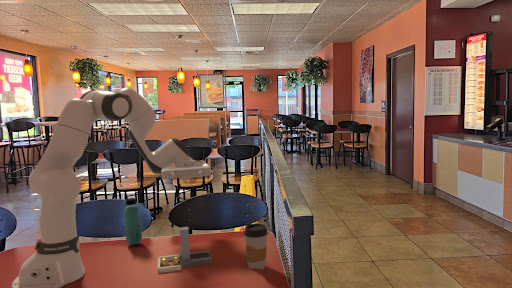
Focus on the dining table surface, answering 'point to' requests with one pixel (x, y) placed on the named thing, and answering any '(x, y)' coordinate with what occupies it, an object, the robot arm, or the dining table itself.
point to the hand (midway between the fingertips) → (186, 175)
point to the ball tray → (168, 268)
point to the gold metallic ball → (164, 262)
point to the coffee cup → (256, 245)
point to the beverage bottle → (132, 222)
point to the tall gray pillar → (185, 243)
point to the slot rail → (197, 259)
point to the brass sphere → (177, 260)
